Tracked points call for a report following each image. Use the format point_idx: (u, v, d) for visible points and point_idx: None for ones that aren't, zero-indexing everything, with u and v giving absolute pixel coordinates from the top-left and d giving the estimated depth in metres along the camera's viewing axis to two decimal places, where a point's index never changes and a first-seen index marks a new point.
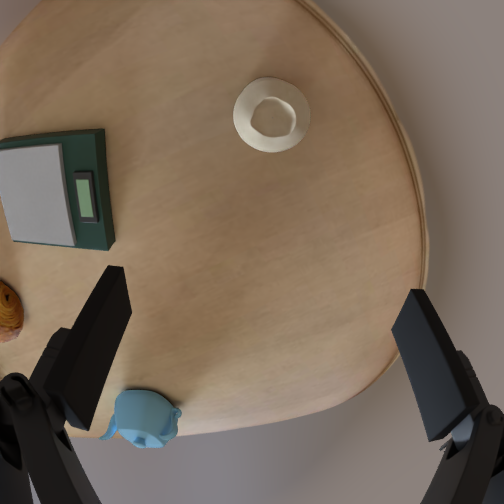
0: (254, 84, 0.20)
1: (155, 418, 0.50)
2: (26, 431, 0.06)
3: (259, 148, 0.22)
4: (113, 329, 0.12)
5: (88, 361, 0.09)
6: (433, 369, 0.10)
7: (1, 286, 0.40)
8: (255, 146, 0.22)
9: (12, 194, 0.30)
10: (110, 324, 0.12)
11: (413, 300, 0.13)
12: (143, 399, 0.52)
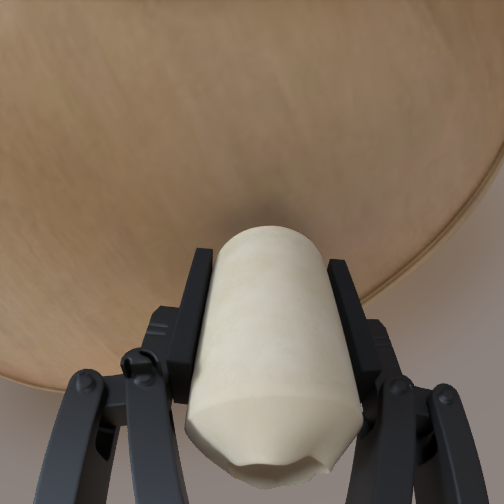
0: (358, 417, 0.08)
1: None
2: (139, 407, 0.08)
3: (190, 427, 0.08)
4: None
5: (198, 334, 0.11)
6: None
7: None
8: (194, 424, 0.08)
9: None
10: None
11: (331, 269, 0.14)
12: None
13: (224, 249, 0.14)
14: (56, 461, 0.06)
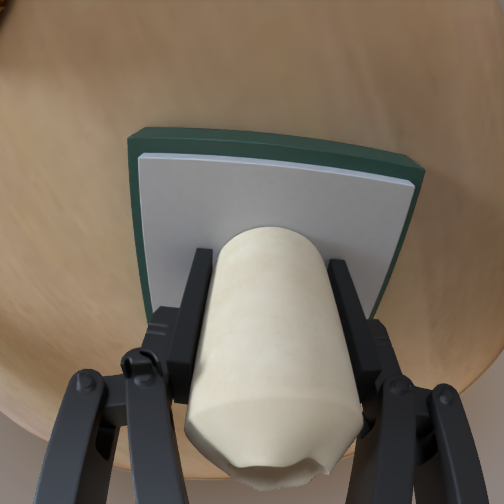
0: (358, 419, 0.08)
1: None
2: (139, 407, 0.08)
3: (190, 429, 0.08)
4: None
5: (198, 334, 0.11)
6: None
7: None
8: (194, 426, 0.08)
9: (287, 220, 0.14)
10: None
11: (331, 269, 0.14)
12: None
13: (224, 250, 0.14)
14: (56, 461, 0.06)
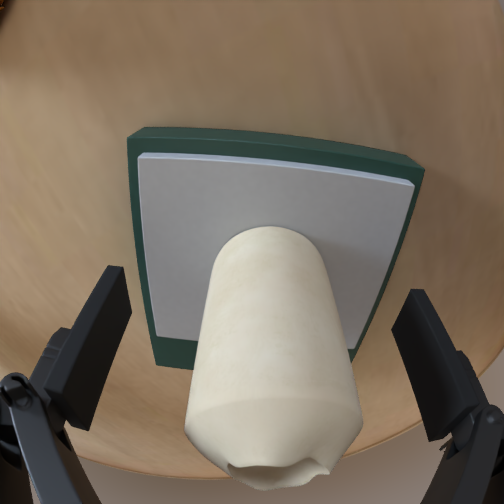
0: (358, 419, 0.08)
1: None
2: (26, 431, 0.06)
3: (190, 429, 0.08)
4: (113, 329, 0.12)
5: (88, 361, 0.09)
6: (433, 369, 0.10)
7: None
8: (194, 426, 0.08)
9: (287, 219, 0.14)
10: (110, 324, 0.12)
11: (414, 300, 0.13)
12: None
13: (224, 250, 0.14)
14: None
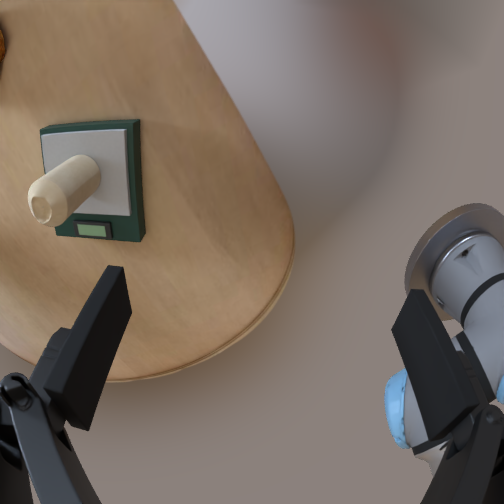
0: (60, 191, 0.27)
1: None
2: (26, 431, 0.06)
3: (28, 198, 0.27)
4: (113, 329, 0.12)
5: (88, 361, 0.09)
6: (433, 369, 0.10)
7: None
8: (28, 195, 0.27)
9: (83, 151, 0.33)
10: (110, 324, 0.12)
11: (414, 300, 0.13)
12: None
13: None
14: None
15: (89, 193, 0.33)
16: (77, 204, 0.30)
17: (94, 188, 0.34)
